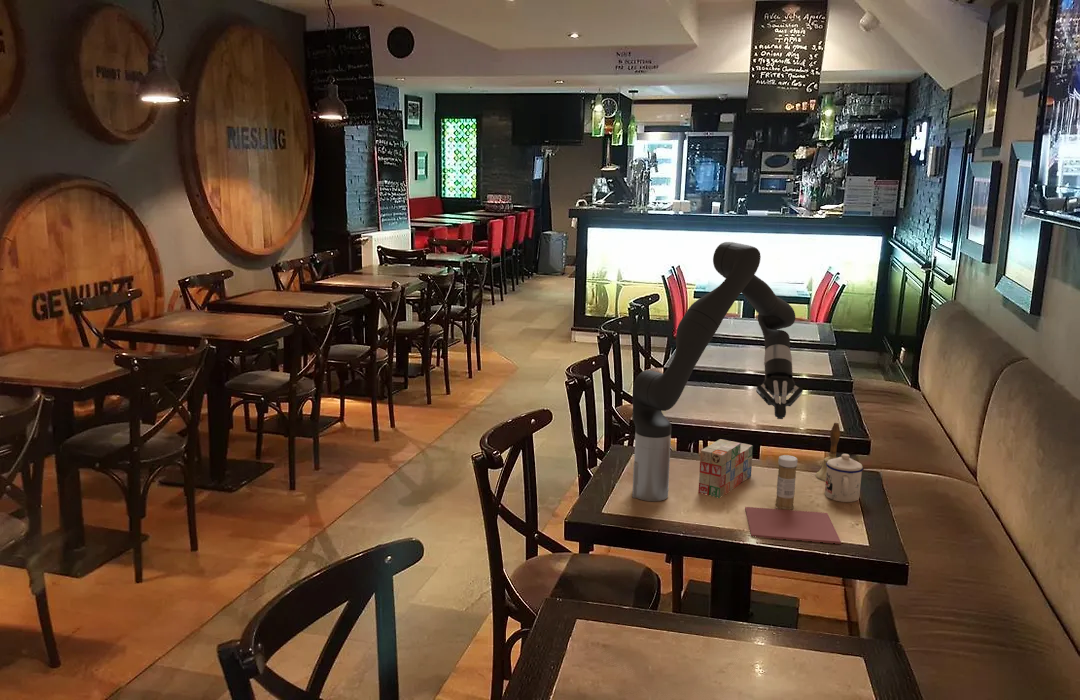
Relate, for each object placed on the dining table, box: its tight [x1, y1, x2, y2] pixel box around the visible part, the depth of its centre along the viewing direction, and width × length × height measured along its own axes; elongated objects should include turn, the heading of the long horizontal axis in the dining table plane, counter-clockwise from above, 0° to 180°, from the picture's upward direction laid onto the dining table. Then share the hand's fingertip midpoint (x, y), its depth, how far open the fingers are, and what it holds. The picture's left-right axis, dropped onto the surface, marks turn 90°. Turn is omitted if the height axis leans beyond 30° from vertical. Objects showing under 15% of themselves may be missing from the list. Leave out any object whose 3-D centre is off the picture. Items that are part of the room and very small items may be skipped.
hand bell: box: [815, 422, 841, 482], centre depth 226 cm, size 8×8×16 cm
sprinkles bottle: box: [775, 454, 798, 510], centre depth 204 cm, size 5×5×13 cm
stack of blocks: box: [697, 438, 754, 499], centre depth 220 cm, size 21×6×12 cm, turn 143°
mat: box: [744, 506, 842, 545], centre depth 194 cm, size 20×17×1 cm
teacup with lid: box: [824, 453, 864, 503], centre depth 211 cm, size 12×9×12 cm
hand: (780, 417), depth 219 cm, fingers closed
